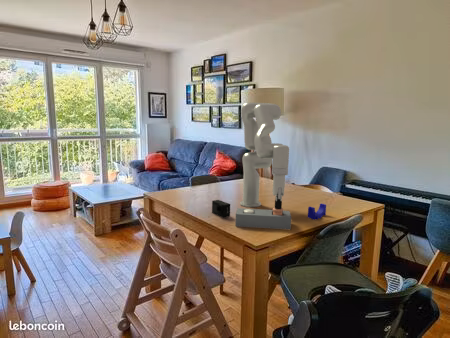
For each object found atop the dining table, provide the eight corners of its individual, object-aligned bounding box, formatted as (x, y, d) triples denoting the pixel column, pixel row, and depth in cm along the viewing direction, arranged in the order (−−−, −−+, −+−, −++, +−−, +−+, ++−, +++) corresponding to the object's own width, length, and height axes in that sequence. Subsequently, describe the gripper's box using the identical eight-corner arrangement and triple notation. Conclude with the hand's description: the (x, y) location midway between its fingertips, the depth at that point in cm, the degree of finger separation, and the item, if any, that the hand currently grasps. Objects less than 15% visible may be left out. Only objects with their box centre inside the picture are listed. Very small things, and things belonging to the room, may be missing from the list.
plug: (243, 220, 152) (243, 209, 151) (253, 221, 151) (254, 209, 150) (243, 224, 147) (243, 212, 146) (253, 224, 146) (253, 212, 146)
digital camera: (209, 213, 164) (210, 200, 163) (217, 211, 167) (218, 199, 166) (221, 218, 156) (222, 205, 155) (229, 216, 160) (230, 203, 158)
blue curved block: (314, 220, 157) (315, 209, 156) (307, 217, 161) (308, 206, 160) (327, 216, 165) (328, 205, 164) (320, 213, 168) (321, 203, 167)
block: (236, 219, 155) (237, 208, 154) (288, 222, 152) (289, 210, 151) (235, 226, 145) (235, 214, 144) (290, 229, 142) (291, 217, 141)
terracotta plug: (271, 218, 150) (272, 206, 149) (282, 219, 150) (282, 207, 149) (272, 221, 145) (272, 209, 144) (282, 222, 145) (283, 210, 144)
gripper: (271, 168, 151) (269, 204, 154) (272, 173, 136) (270, 212, 139) (286, 169, 150) (284, 204, 153) (289, 174, 136) (287, 213, 139)
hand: (278, 208), depth 146 cm, fingers closed
